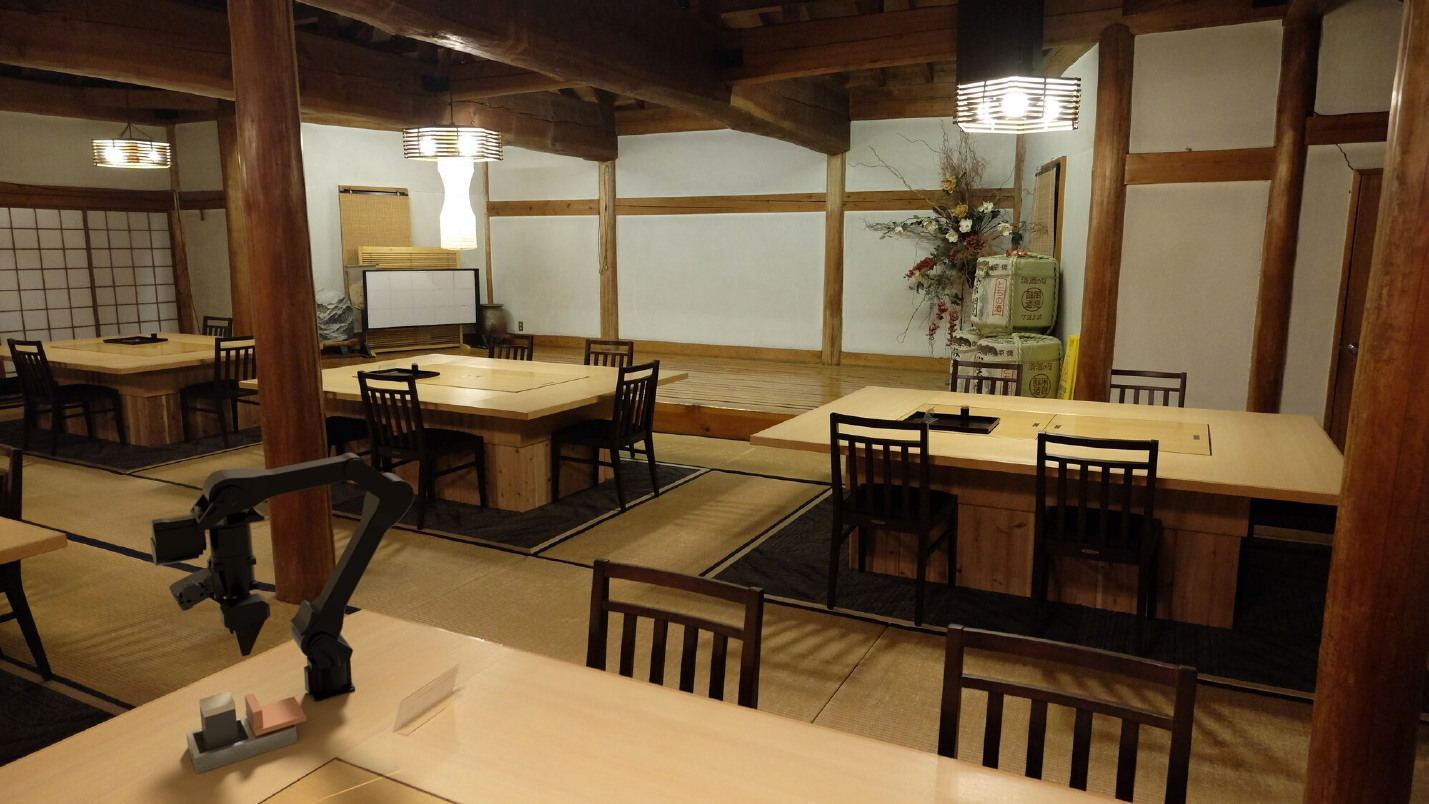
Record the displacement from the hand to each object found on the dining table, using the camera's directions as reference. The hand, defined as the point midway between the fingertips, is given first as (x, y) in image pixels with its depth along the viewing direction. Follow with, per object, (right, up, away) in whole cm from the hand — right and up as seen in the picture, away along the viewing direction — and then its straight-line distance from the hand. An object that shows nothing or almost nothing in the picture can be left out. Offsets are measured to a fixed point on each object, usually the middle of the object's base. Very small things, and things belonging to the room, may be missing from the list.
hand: (239, 644), depth 137 cm
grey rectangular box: (+4, -14, -6) cm, 15 cm away
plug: (+2, -14, -8) cm, 16 cm away
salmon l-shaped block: (+8, -10, -4) cm, 13 cm away
